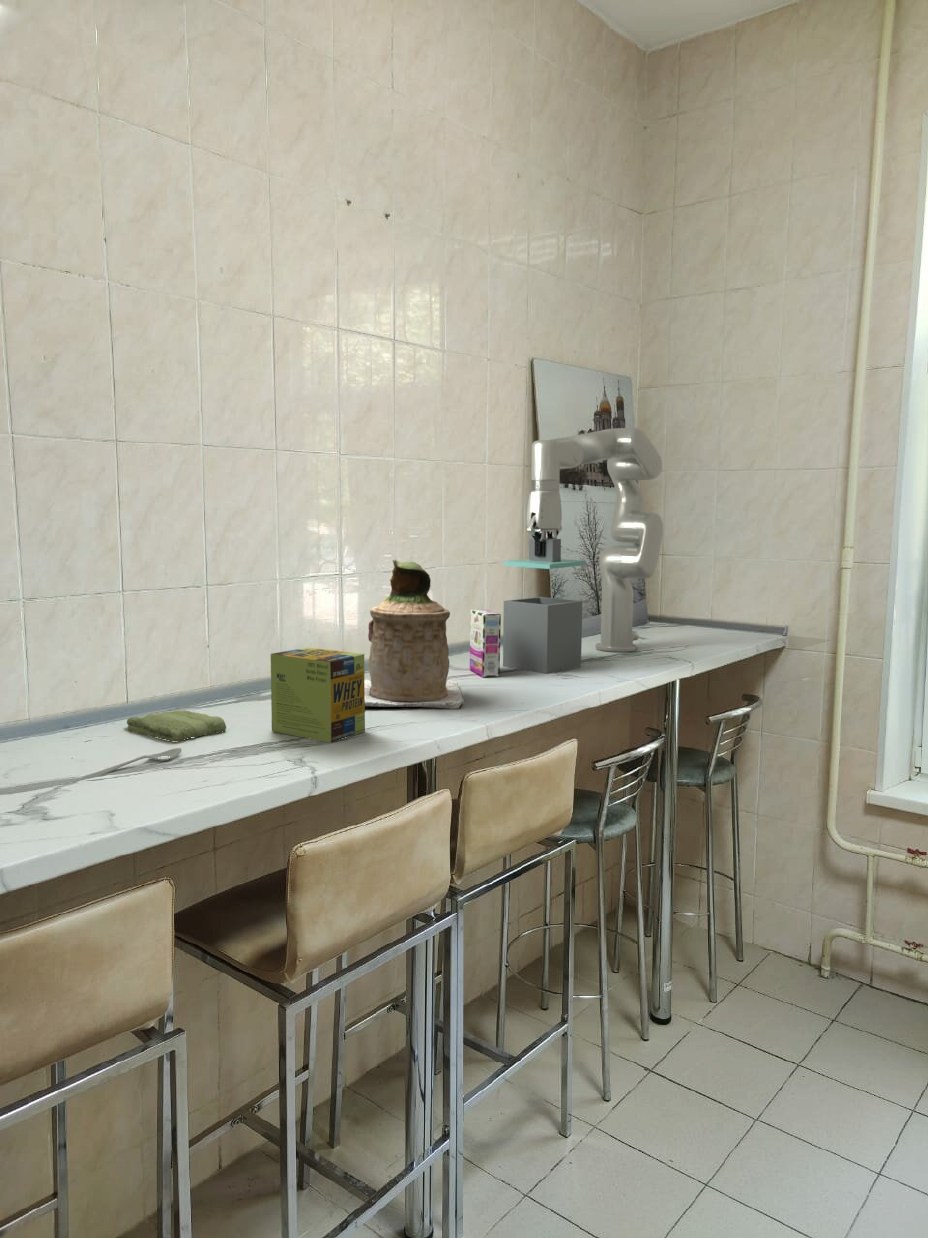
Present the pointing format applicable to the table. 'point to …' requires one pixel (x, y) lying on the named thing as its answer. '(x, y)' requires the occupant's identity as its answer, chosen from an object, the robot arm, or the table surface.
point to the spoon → (171, 753)
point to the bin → (542, 634)
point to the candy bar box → (485, 643)
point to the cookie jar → (409, 646)
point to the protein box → (318, 693)
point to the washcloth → (176, 725)
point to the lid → (545, 557)
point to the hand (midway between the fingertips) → (544, 555)
